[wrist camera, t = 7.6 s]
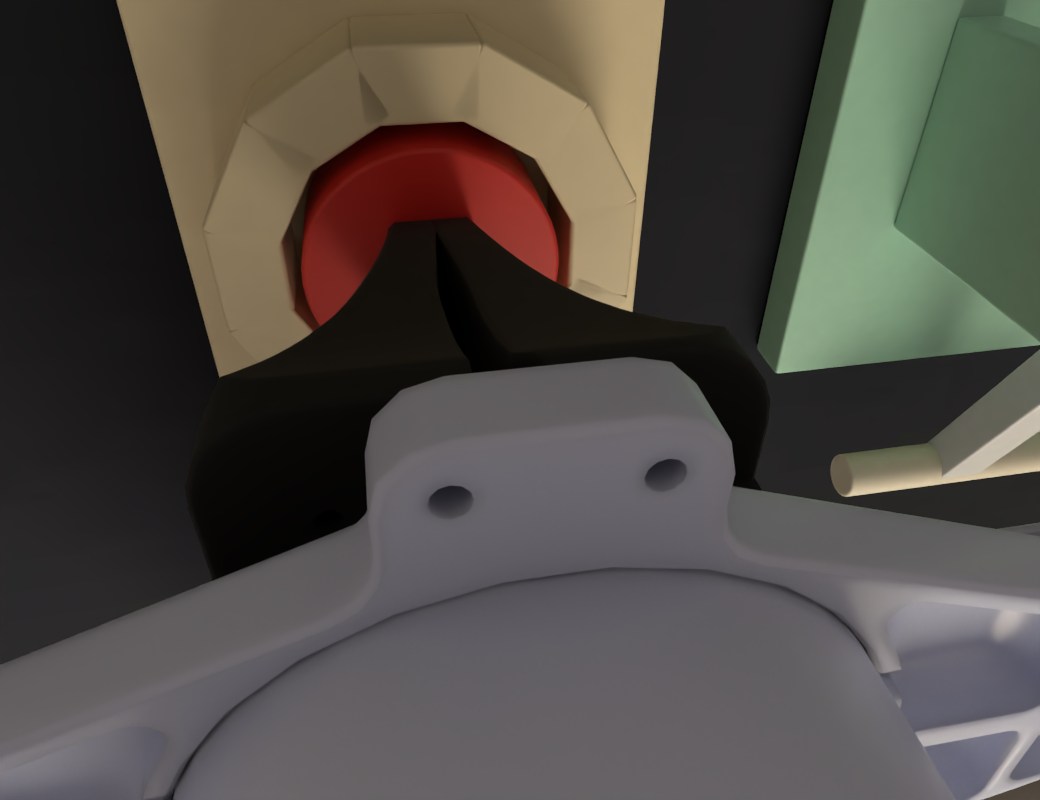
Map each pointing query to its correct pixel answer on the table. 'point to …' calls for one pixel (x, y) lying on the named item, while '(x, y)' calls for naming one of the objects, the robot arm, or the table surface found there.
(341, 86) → the button housing
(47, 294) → the table surface
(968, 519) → the table surface
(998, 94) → the bracket
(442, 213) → the red button
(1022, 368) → the lever
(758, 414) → the robot arm
